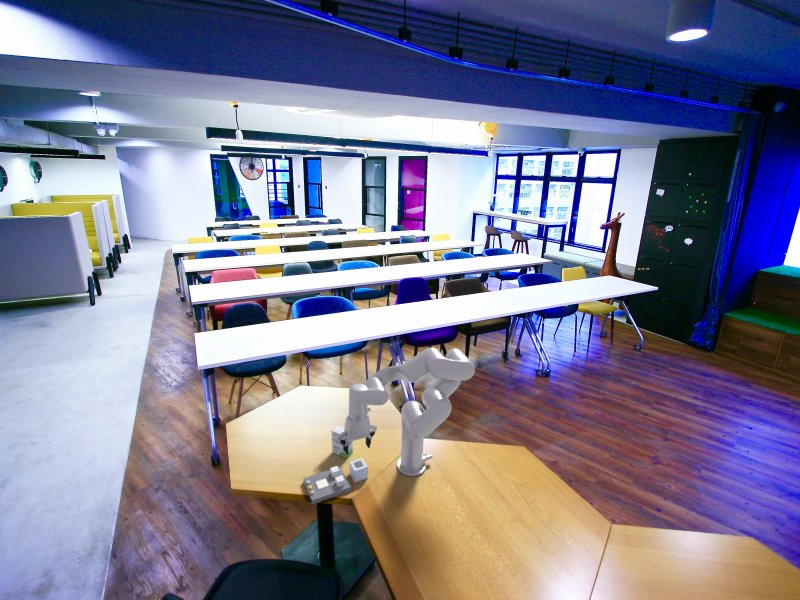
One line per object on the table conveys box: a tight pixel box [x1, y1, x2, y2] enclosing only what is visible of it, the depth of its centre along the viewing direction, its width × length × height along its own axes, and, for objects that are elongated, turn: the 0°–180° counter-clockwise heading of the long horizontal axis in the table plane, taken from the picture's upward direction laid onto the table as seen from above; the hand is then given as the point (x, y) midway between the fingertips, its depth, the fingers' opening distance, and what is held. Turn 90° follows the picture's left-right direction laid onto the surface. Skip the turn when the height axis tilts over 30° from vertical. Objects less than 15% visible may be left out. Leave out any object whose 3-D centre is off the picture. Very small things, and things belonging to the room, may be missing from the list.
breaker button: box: [315, 478, 329, 490], centre depth 168 cm, size 4×4×2 cm
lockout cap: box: [348, 457, 369, 483], centre depth 174 cm, size 6×6×6 cm
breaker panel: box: [302, 465, 352, 505], centre depth 168 cm, size 16×13×5 cm
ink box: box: [331, 425, 354, 459], centre depth 187 cm, size 9×5×12 cm, turn 62°
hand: (357, 448), depth 171 cm, fingers open, 9 cm apart
